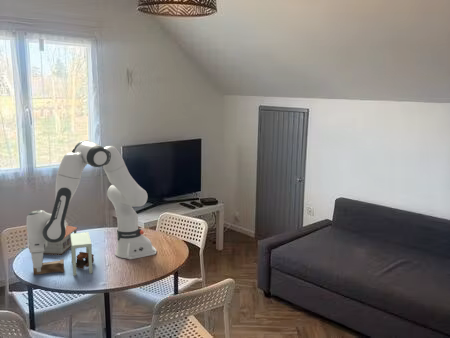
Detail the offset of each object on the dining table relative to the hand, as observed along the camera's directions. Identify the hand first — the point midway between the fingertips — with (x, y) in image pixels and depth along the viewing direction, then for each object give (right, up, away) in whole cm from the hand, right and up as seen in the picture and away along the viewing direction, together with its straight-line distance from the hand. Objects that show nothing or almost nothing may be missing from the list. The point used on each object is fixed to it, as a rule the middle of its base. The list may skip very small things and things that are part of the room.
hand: (39, 269), depth 209 cm
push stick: (+4, -1, +2) cm, 5 cm away
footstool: (+19, -1, +8) cm, 20 cm away
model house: (-5, +4, +35) cm, 36 cm away
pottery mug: (+20, -2, +8) cm, 21 cm away
